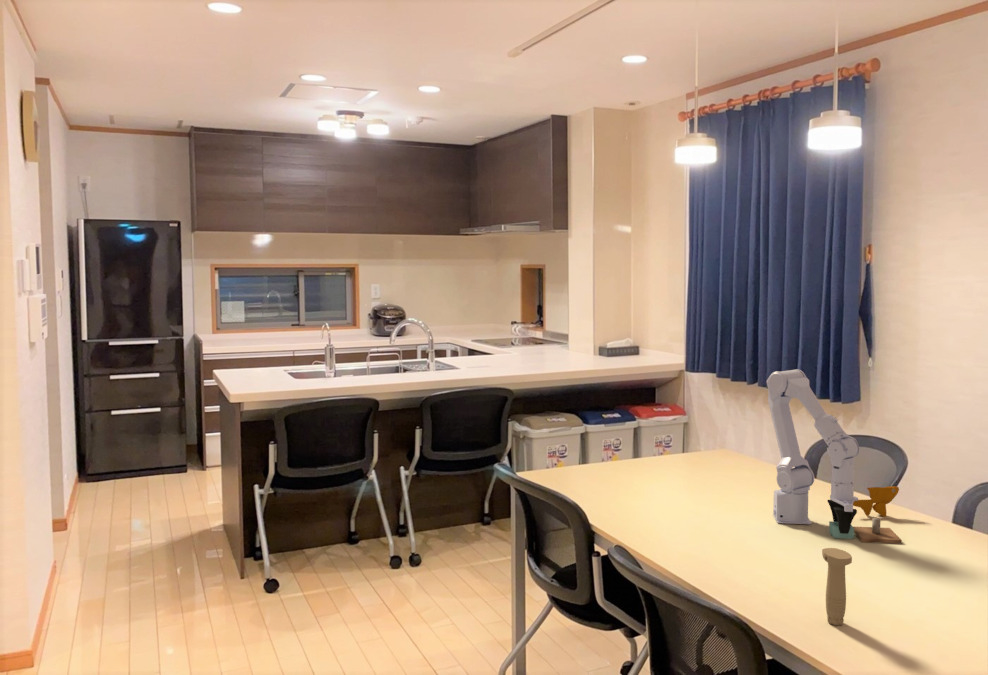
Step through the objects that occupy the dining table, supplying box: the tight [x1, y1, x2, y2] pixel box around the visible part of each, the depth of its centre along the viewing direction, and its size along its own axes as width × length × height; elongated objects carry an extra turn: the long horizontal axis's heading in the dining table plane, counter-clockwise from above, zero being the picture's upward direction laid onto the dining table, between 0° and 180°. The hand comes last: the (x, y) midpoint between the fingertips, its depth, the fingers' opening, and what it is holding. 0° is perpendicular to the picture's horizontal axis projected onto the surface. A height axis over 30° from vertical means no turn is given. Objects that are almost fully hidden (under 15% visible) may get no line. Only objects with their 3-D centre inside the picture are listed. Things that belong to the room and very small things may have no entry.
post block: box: [853, 517, 903, 544], centre depth 220 cm, size 10×10×5 cm
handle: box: [821, 547, 853, 626], centre depth 167 cm, size 5×6×15 cm
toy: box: [853, 485, 900, 518], centre depth 238 cm, size 3×16×10 cm, turn 89°
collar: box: [828, 520, 855, 540], centre depth 221 cm, size 5×5×3 cm
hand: (841, 529), depth 221 cm, fingers closed on collar, 5 cm apart
